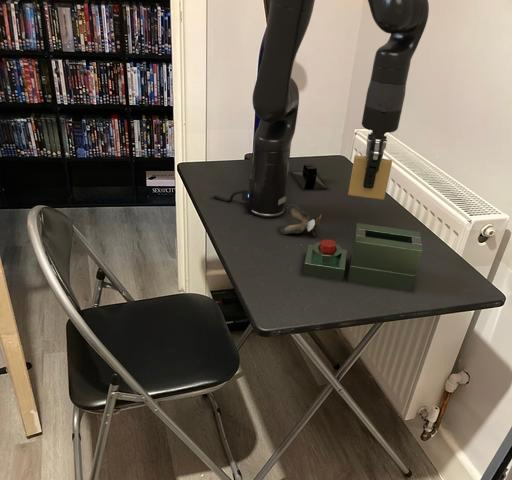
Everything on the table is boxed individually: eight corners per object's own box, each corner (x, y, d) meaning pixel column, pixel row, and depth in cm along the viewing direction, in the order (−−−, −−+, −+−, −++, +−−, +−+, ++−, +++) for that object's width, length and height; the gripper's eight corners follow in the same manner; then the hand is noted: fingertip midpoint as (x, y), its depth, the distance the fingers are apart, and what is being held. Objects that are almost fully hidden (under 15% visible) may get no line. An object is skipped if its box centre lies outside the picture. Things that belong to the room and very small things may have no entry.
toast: (348, 195, 127) (354, 157, 122) (348, 192, 128) (354, 155, 123) (384, 199, 126) (392, 162, 121) (383, 196, 128) (392, 159, 123)
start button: (318, 252, 126) (319, 245, 125) (319, 245, 129) (321, 238, 128) (334, 255, 126) (336, 248, 125) (335, 247, 128) (336, 240, 127)
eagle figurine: (319, 222, 146) (285, 211, 146) (325, 208, 139) (290, 196, 139) (310, 248, 143) (276, 236, 143) (316, 234, 136) (280, 222, 136)
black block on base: (291, 173, 174) (292, 158, 171) (313, 173, 175) (315, 158, 172) (303, 190, 164) (305, 174, 161) (327, 189, 166) (329, 173, 163)
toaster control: (302, 274, 127) (305, 255, 124) (306, 255, 134) (309, 236, 131) (342, 281, 126) (346, 261, 123) (344, 261, 133) (348, 242, 130)
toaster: (347, 281, 126) (355, 241, 120) (349, 261, 133) (356, 222, 127) (411, 291, 125) (422, 251, 119) (409, 270, 132) (420, 231, 126)
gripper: (365, 93, 121) (352, 172, 132) (364, 111, 110) (349, 195, 121) (401, 97, 120) (384, 176, 131) (403, 115, 110) (385, 200, 120)
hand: (368, 185), depth 126 cm, fingers closed on toast, 1 cm apart
